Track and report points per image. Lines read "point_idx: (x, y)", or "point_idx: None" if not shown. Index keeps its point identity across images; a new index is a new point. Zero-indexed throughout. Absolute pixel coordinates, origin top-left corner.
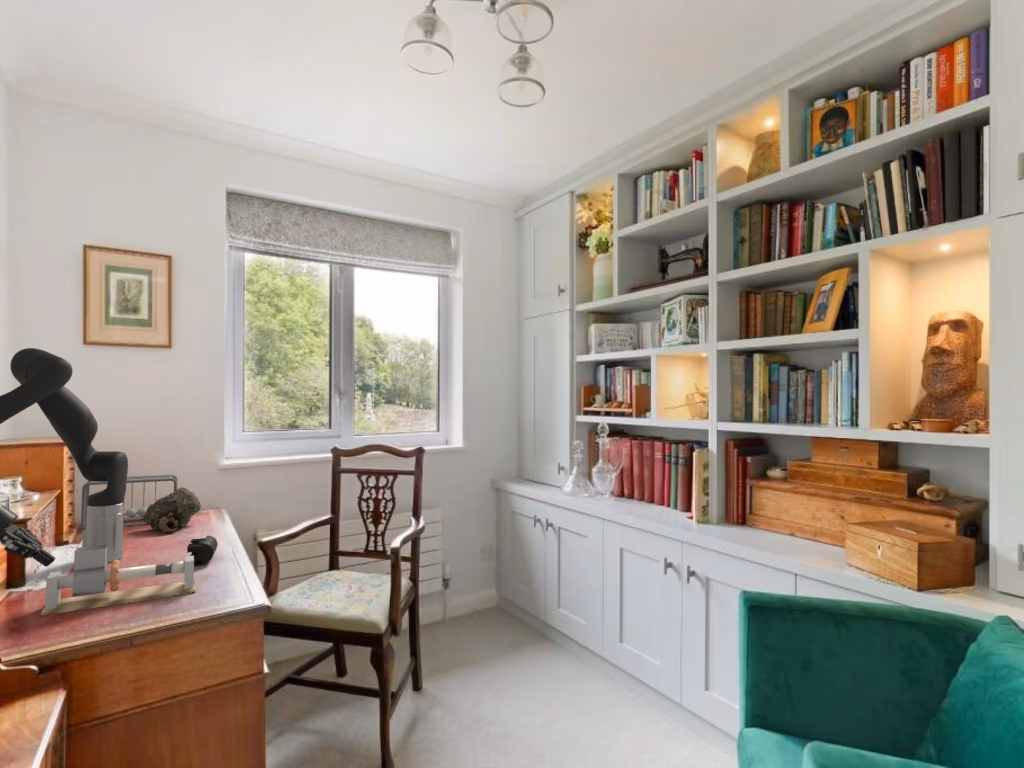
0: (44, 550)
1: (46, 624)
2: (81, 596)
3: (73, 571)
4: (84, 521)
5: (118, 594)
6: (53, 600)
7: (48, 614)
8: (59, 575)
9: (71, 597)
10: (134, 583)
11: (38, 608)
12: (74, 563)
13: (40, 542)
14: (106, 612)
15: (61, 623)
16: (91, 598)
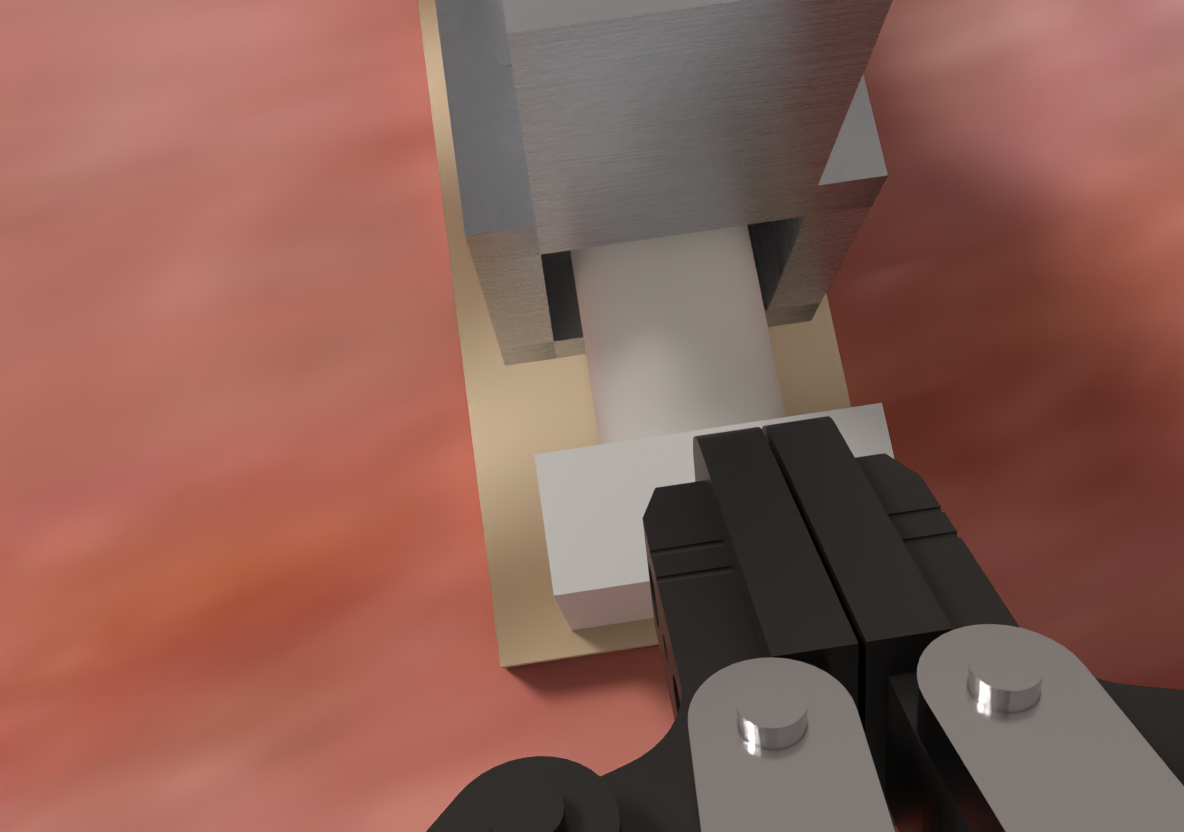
0: (792, 606)
1: (1159, 469)
2: (481, 359)
3: (873, 175)
4: None
5: None
6: None
7: None
8: (691, 437)
9: (474, 452)
10: (118, 14)
11: (625, 723)
12: (844, 117)
13: (514, 820)
14: (958, 50)
15: (1163, 342)
16: None
